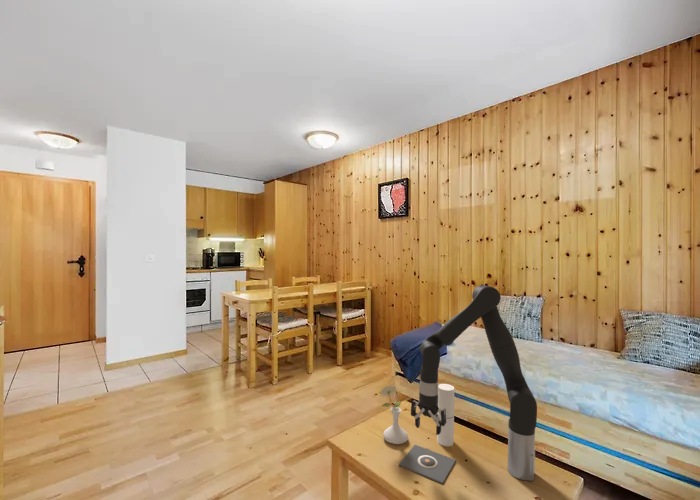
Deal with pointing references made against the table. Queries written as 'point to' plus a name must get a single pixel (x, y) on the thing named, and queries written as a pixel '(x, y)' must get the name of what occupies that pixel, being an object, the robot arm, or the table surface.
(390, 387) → the flower in vase
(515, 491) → the table surface
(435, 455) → the pad
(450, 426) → the cylindrical container
